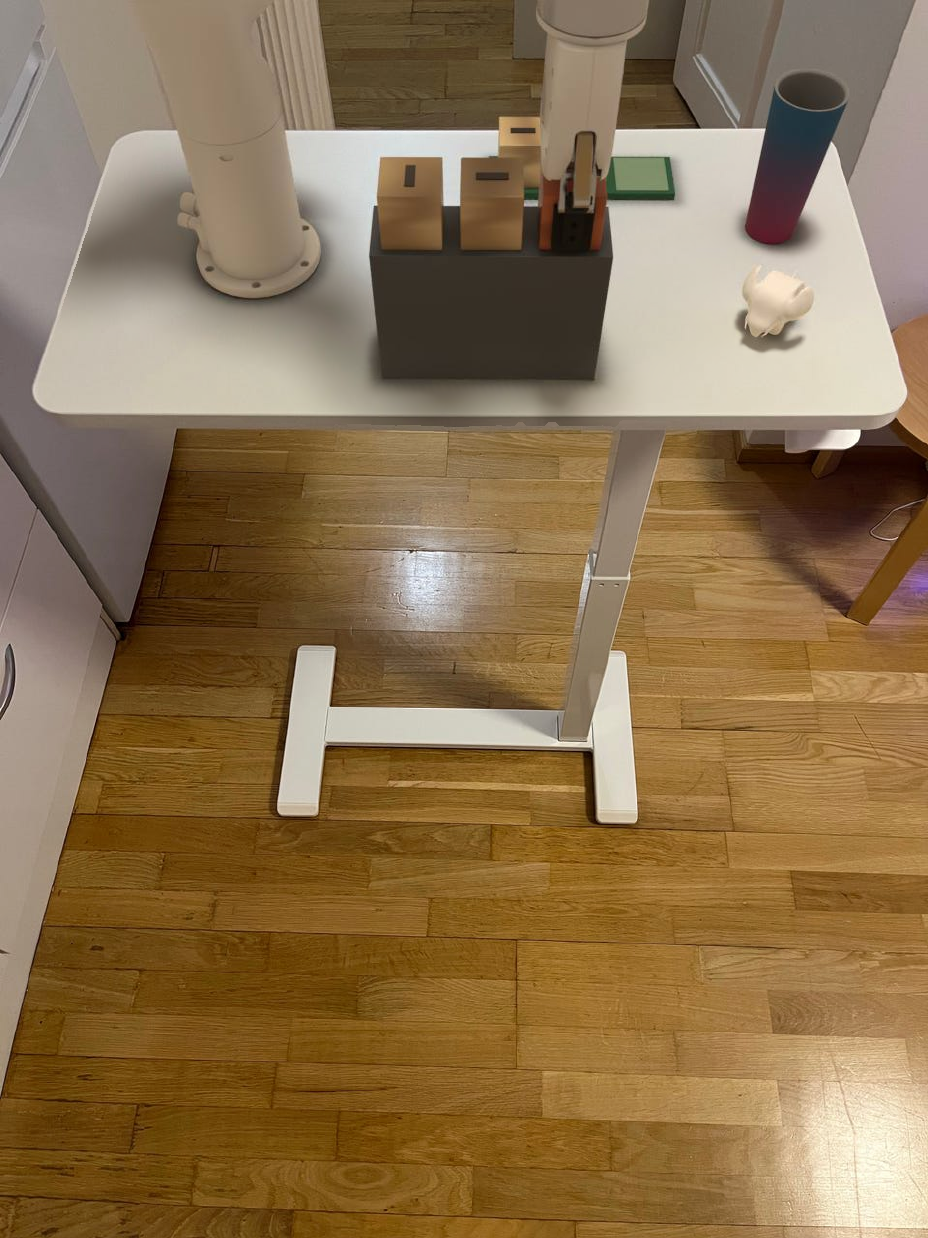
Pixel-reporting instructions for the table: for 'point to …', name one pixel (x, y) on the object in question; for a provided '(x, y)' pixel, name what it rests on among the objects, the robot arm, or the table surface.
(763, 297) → the elephant figurine
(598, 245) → the slotted orange cube
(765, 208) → the cup
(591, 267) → the near dark gray stand
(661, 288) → the table surface
